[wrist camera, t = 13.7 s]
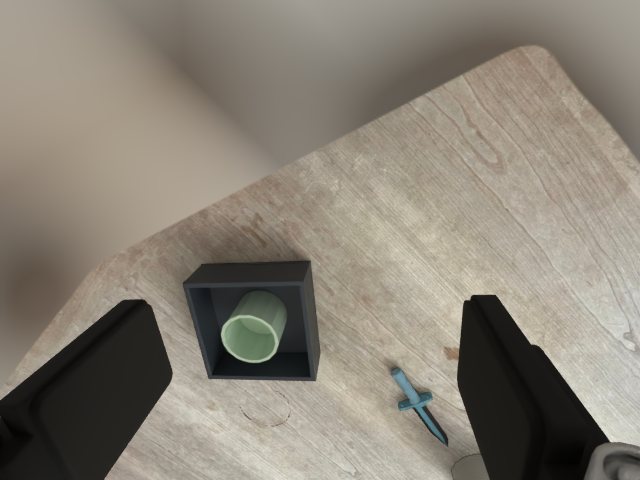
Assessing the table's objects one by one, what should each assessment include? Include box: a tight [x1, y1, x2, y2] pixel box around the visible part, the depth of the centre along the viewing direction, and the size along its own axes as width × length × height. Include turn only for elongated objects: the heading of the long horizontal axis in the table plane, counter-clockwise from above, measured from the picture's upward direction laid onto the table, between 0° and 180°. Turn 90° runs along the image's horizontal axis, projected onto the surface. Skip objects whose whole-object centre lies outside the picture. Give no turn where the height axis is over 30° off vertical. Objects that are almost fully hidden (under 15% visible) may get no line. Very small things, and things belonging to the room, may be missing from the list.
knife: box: [391, 369, 448, 447], centre depth 47 cm, size 17×1×5 cm
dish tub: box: [183, 261, 320, 381], centre depth 42 cm, size 14×14×5 cm
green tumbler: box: [221, 290, 288, 363], centre depth 41 cm, size 7×7×6 cm
